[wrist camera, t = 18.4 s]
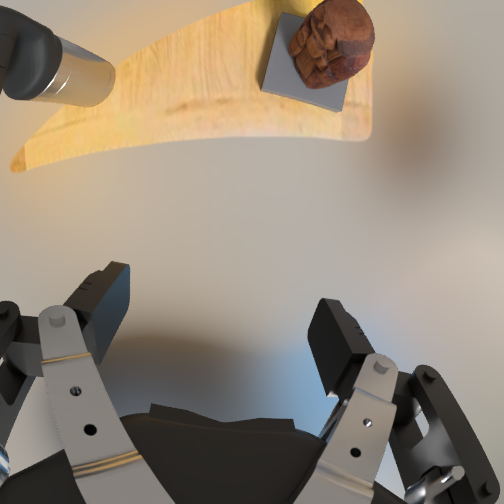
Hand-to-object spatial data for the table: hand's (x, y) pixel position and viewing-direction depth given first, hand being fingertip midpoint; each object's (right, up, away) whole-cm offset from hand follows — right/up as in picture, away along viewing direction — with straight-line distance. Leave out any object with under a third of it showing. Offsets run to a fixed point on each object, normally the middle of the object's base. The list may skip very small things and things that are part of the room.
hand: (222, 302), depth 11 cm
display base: (+11, +33, +26) cm, 44 cm away
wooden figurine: (+10, +32, +24) cm, 41 cm away
